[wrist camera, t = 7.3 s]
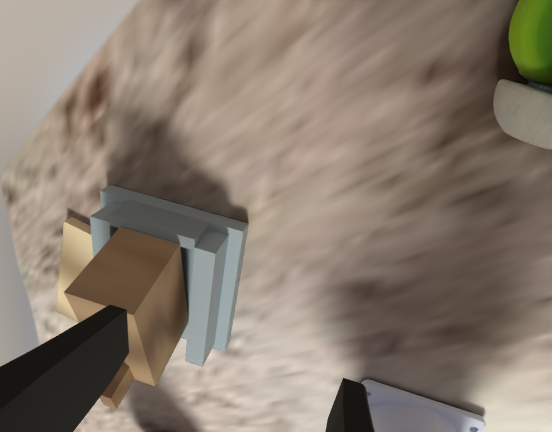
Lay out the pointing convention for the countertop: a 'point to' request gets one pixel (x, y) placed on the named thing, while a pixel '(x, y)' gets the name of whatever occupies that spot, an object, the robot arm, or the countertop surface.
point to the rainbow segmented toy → (528, 76)
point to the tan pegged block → (136, 302)
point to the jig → (185, 258)
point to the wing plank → (73, 260)
